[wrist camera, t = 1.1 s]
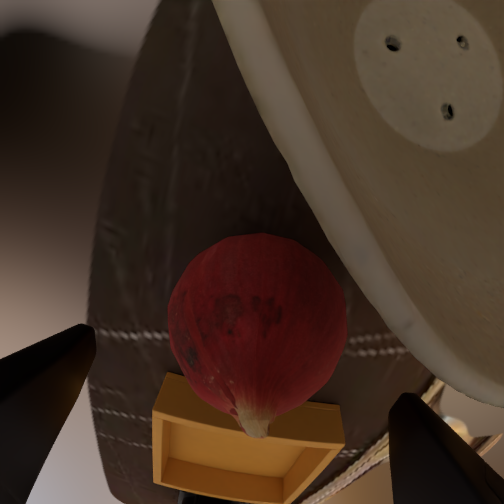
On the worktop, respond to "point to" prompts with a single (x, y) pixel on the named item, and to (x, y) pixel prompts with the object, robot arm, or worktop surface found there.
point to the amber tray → (239, 448)
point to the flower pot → (396, 158)
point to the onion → (257, 327)
